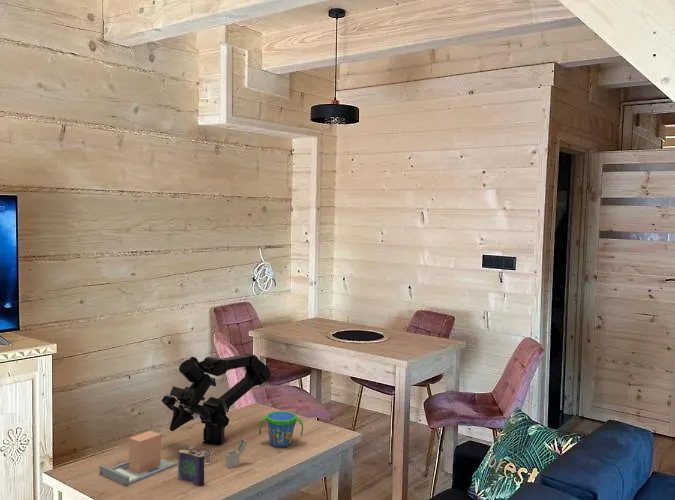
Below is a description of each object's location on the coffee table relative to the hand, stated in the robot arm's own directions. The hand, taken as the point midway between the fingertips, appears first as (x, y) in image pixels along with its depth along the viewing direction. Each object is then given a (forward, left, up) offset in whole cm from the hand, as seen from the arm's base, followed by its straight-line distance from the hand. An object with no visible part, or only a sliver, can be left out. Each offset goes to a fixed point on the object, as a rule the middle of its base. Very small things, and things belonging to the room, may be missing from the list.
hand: (170, 430), depth 196 cm
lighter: (-22, -1, -10) cm, 24 cm away
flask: (-13, +14, -10) cm, 21 cm away
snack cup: (-31, -22, -10) cm, 39 cm away
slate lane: (+5, +10, -9) cm, 15 cm away
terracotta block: (+4, +9, -9) cm, 13 cm away
